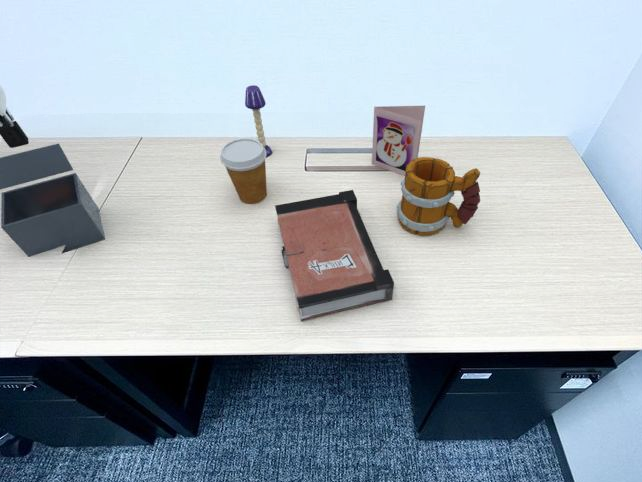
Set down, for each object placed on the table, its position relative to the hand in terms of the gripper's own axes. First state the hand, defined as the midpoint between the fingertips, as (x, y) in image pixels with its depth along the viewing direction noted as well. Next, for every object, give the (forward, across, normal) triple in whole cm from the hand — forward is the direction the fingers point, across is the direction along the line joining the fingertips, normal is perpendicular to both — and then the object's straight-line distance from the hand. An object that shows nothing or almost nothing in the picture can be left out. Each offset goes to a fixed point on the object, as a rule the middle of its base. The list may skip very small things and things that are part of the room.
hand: (19, 143), depth 76 cm
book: (+16, +42, +44) cm, 63 cm away
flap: (+3, +4, 0) cm, 5 cm away
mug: (+16, +44, +68) cm, 83 cm away
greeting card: (+16, +23, +73) cm, 78 cm away
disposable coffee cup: (+16, +17, +38) cm, 44 cm away
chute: (+16, +10, 0) cm, 19 cm away
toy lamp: (+16, +2, +46) cm, 49 cm away
